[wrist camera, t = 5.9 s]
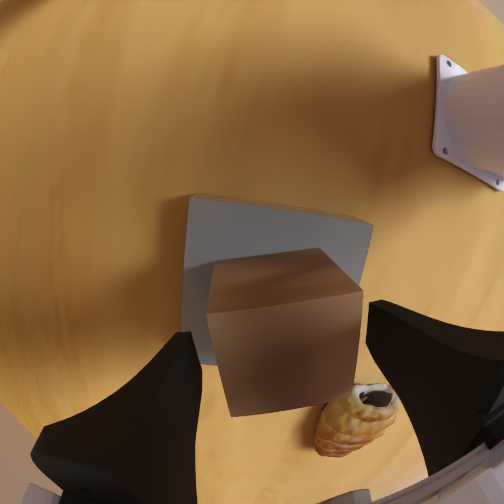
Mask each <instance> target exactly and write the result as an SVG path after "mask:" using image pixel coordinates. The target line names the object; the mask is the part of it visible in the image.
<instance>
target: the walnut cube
mask: <svg viewBox="0 0 504 504" xmlns="http://www.w3.org/2000/svg"><path fill="white" fill-rule="evenodd" d="M362 304H363V290H362V289H361V288H360V287H359V286H358V285H357V284H356V283H355V282H354V281H353V280H352V279H351V278H350V277H349V276H348V275H347V274H346V273H345V272H344V271H343V270H342V269H341V268H340V267H339V266H338V265H337V264H336V263H335V262H334V261H333V260H332V259H331V258H330V257H329V256H328V255H327V254H326V253H325V252H324V251H322V250H321V249H320V248H312V249H304V250H297V251H289V252H281V253H273V254H265V255H258V256H250V257H242V258H234V259H226V260H218V261H215V263H214V268H213V274H212V280H211V286H210V292H209V298H208V304H207V310H206V317H207V321H208V326H209V330H210V335H211V339H212V344H213V348H214V352H215V357H216V361H217V365H218V369H219V373H220V377H221V381H222V385H223V389H224V393H225V397H226V400H227V404H228V408H229V411H230V415H231V417H239V416H249V415H257V414H265V413H273V412H279V411H286V410H292V409H297V408H303V407H308V406H313V405H318V404H322V403H327V402H331V401H335V400H339V399H343V398H347V397H351V396H352V390H353V384H354V377H355V371H356V363H357V356H358V347H359V338H360V328H361V317H362Z"/></svg>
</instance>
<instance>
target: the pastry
mask: <svg viewBox="0 0 504 504" xmlns="http://www.w3.org/2000/svg"><path fill="white" fill-rule="evenodd" d="M399 402H400V399H399V397H398V396H397V394H396V393H395V391H394V390H393V388H392V387H391V386H390V385H387V384H385V383H377V384H371V385H367V386H366V385H353V390H352V396H351V397H347V398H343V399H339V400H335V401H331V402H328V403H327V405H326V407H325V409H324V410H322V412H321V415H320V417H319V420H318V423H317V427H316V431H315V435H314V445H315V450H316V452H317V453H318V454H319V455H321V456H327V457H343V456H346V455H348V454H350V453H351V452H352V451H355V450H358V449H360V448H362V447H363V446H365V445H367V444H368V443H371V442H372V441H373V440H375V439H376V438H378V437H380V436H382V435H383V434H384V431H385V428H387V427H388V426H390V425H391V424H392V423H393V422H394V421H395V417H396V413H397V412H398V410H399V407H398V406H399Z"/></svg>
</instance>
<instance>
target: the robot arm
mask: <svg viewBox="0 0 504 504" xmlns="http://www.w3.org/2000/svg"><path fill="white" fill-rule="evenodd" d="M447 64H448V65H447ZM443 149H444V153H443ZM432 150H433V152H434V154H435V155H436V156H438V157H440V158H442V159H444V160H446V161H448V162H450V163H452V164H454V165H456V166H458V167H460V168H461V169H463V170H465V171H467V172H469V173H470V174H472V175H474V176H476V177H477V178H479V179H481V180H482V181H484V182H486V183H487V184H489V185H491V186H492V187H494V188H495V189H497V190H498V191H501V192H503V191H504V65H501V66H496V67H491V68H487V69H483V70H478V71H474V72H470V73H468V72H466V71H465V70H464V69H462V68H461V67H460V66H458V65H457V64H456V63H454V62H453V61H451V60H450V59H448V58H447V57H445V56H444V55H438V56H437V90H436V111H435V124H434V134H433V143H432ZM366 345H367V347H368V349H369V351H370V353H371V355H372V357H373V359H374V361H375V363H376V364H377V366H378V367H379V369H380V370H381V372H382V373H383V375H384V376H385V378H386V379H387V381H388V382H389V384H390V385H391V387H392V388H393V390H394V391H395V393H396V394H397V396H398V397H399V399H400V401H401V402H402V404H403V406H404V408H405V410H406V412H407V414H408V417H409V419H410V421H411V423H412V426H413V428H414V431H415V433H416V436H417V438H418V441H419V444H420V447H421V450H422V453H423V456H424V460H425V464H426V467H427V471H428V476H429V477H428V478H426V479H424V480H422V481H420V482H418V483H416V484H414V485H412V486H409V487H407V488H405V489H403V490H401V491H398V492H396V493H394V494H391V495H389V496H386V497H384V498H381V499H379V500H376V501H373V502H370V503H368V504H421V503H423V502H425V501H427V500H428V499H430V498H432V497H434V496H436V495H438V494H439V493H440V495H439V496H438V498H436V499H435V500H433V501H431V502H429V503H427V504H504V332H502V331H485V330H477V329H471V328H465V327H461V326H457V325H452V324H449V323H445V322H442V321H439V320H436V319H433V318H430V317H427V316H425V315H422V314H419V313H417V312H414V311H412V310H409V309H407V308H404V307H402V306H399V305H397V304H394V303H391V302H388V301H385V300H378V301H374V302H369V312H368V323H367V334H366ZM201 396H202V368H201V365H200V361H199V358H198V355H197V351H196V347H195V344H194V340H193V337H192V333H191V331H187V332H176V333H175V334H174V335H173V336H172V337H171V339H170V340H169V341H168V342H167V343H166V344H165V345H164V346H163V348H162V349H161V350H160V351H159V352H158V353H157V354H156V355H155V356H154V358H153V359H152V360H151V361H150V362H149V363H148V364H147V365H146V366H145V367H144V368H143V369H142V370H141V371H140V372H139V373H138V374H137V375H135V376H134V377H133V378H132V379H131V380H130V381H129V382H127V383H126V384H125V385H124V386H122V387H121V388H120V389H119V390H117V391H116V392H114V393H113V394H112V395H110V396H108V397H107V398H105V399H104V400H102V401H101V402H99V403H97V404H96V405H94V406H92V407H90V408H89V409H87V410H85V411H83V412H81V413H78V414H76V415H74V416H72V417H70V418H67V419H64V420H62V421H59V422H56V423H53V424H50V425H47V426H44V428H43V430H42V432H41V433H40V435H39V437H38V439H37V441H36V443H35V445H34V447H33V449H32V451H31V458H32V461H33V462H34V463H35V465H36V466H37V467H38V468H39V469H40V470H41V471H42V472H43V473H44V474H45V475H46V476H47V477H48V478H49V479H51V480H52V481H53V482H54V483H55V484H56V485H57V486H59V487H60V488H61V489H62V490H63V493H62V496H59V495H57V494H56V493H54V492H52V491H49V490H47V489H44V488H42V487H40V486H37V485H35V484H33V483H29V484H28V487H27V489H26V492H25V494H24V497H23V500H22V502H21V504H197V491H196V472H195V442H196V432H197V424H198V417H199V410H200V403H201ZM441 492H442V493H441Z"/></svg>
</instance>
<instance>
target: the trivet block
mask: <svg viewBox="0 0 504 504" xmlns="http://www.w3.org/2000/svg"><path fill="white" fill-rule="evenodd" d="M373 226H374V225H372V224H369V223H367V222H365V221H363V220H360V219H358V218H356V217H352V216H347V215H341V214H336V213H330V212H324V211H319V210H313V209H306V208H300V207H294V206H287V205H281V204H274V203H267V202H260V201H253V200H245V199H238V198H230V197H222V196H213V195H205V194H195V195H194V196H192V197H191V198H190V200H189V209H188V219H187V230H186V241H185V254H184V268H183V284H182V304H181V332H187V331H191V333H192V337H193V340H194V344H195V347H196V351H197V355H198V358H199V361H200V364H206V365H215V366H218V365H217V361H216V357H215V352H214V348H213V344H212V339H211V335H210V330H209V326H208V321H207V317H206V310H207V304H208V298H209V292H210V286H211V280H212V274H213V268H214V263H215V261H218V260H226V259H234V258H242V257H250V256H258V255H265V254H273V253H281V252H289V251H297V250H304V249H312V248H320V249H321V250H322V251H324V252H325V253H326V254H327V255H328V256H329V257H330V258H331V259H332V260H333V261H334V262H335V263H336V264H337V265H338V266H339V267H340V268H341V269H342V270H343V271H344V272H345V273H346V274H347V275H348V276H349V277H350V278H351V279H352V280H353V281H354V282H355V283H356V284H357V285H358V286H359V283H360V279H361V276H362V272H363V268H364V264H365V260H366V256H367V252H368V248H369V244H370V240H371V235H372V231H373Z"/></svg>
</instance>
